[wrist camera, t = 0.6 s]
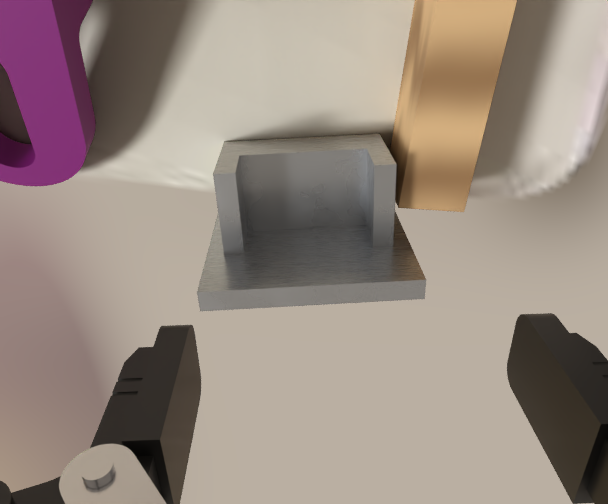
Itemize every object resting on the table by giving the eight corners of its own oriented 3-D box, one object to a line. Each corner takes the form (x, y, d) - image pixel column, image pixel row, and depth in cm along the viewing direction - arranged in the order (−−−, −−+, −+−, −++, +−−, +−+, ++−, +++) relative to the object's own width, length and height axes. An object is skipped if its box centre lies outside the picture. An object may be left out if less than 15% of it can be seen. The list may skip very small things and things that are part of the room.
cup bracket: (208, 142, 34) (182, 203, 25) (394, 132, 34) (432, 190, 25) (220, 229, 37) (200, 311, 28) (391, 219, 37) (424, 298, 28)
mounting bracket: (128, 109, 39) (86, -201, 24) (97, 195, 34) (22, -131, 19) (-8, 89, 38) (-136, -248, 23) (-60, 174, 33) (-263, -187, 18)
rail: (431, -105, 28) (458, -117, 24) (503, -97, 28) (543, -108, 24) (384, 177, 36) (398, 207, 31) (442, 182, 36) (464, 211, 32)
